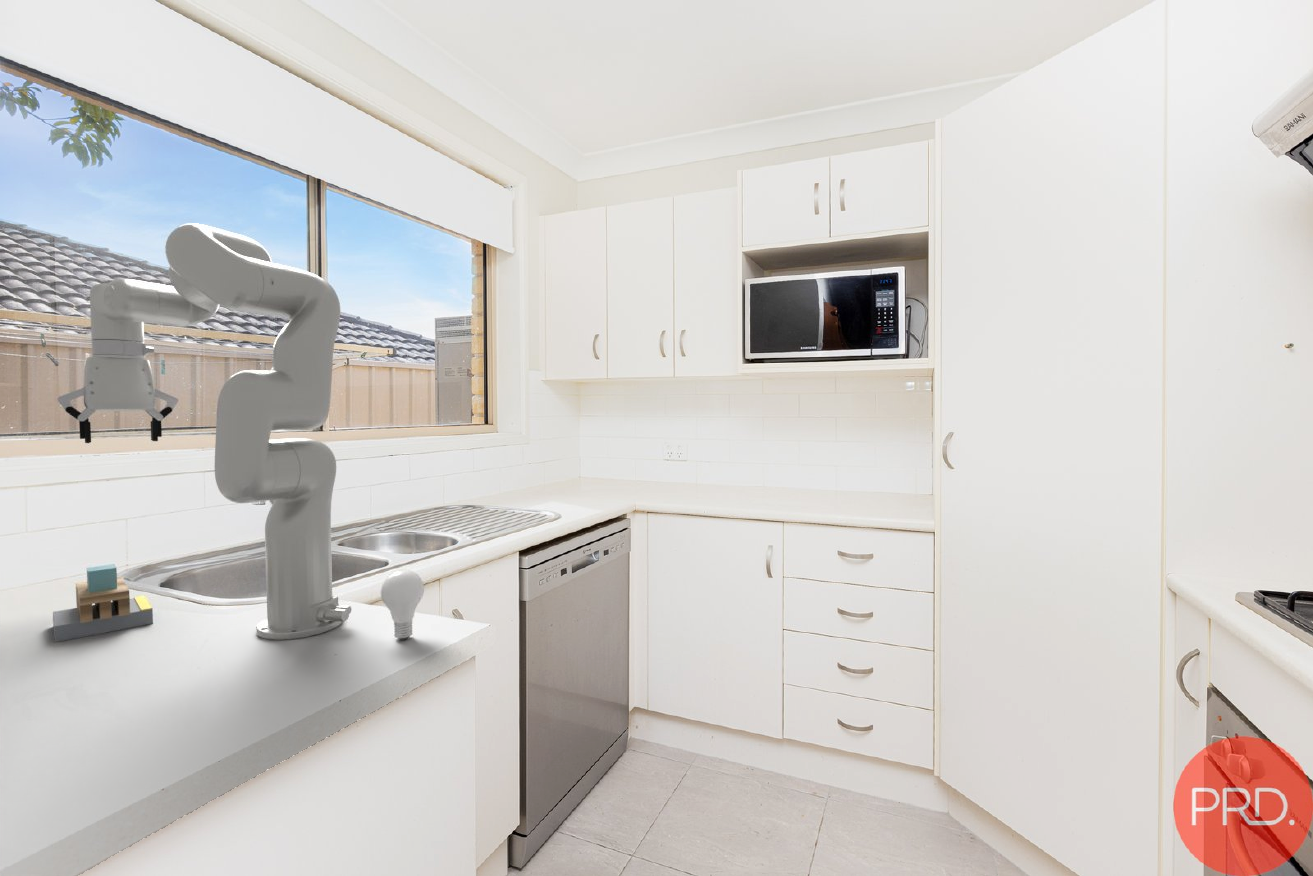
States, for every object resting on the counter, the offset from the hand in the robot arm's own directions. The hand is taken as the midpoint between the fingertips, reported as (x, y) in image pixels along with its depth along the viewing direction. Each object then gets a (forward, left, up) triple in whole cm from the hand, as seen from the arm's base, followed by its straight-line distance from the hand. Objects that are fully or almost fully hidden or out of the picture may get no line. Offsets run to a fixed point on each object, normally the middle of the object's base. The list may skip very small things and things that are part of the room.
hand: (122, 441), depth 118 cm
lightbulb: (-64, +10, -31) cm, 72 cm away
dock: (-10, +13, -30) cm, 34 cm away
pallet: (-10, +13, -28) cm, 32 cm away
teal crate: (-11, +13, -24) cm, 30 cm away
